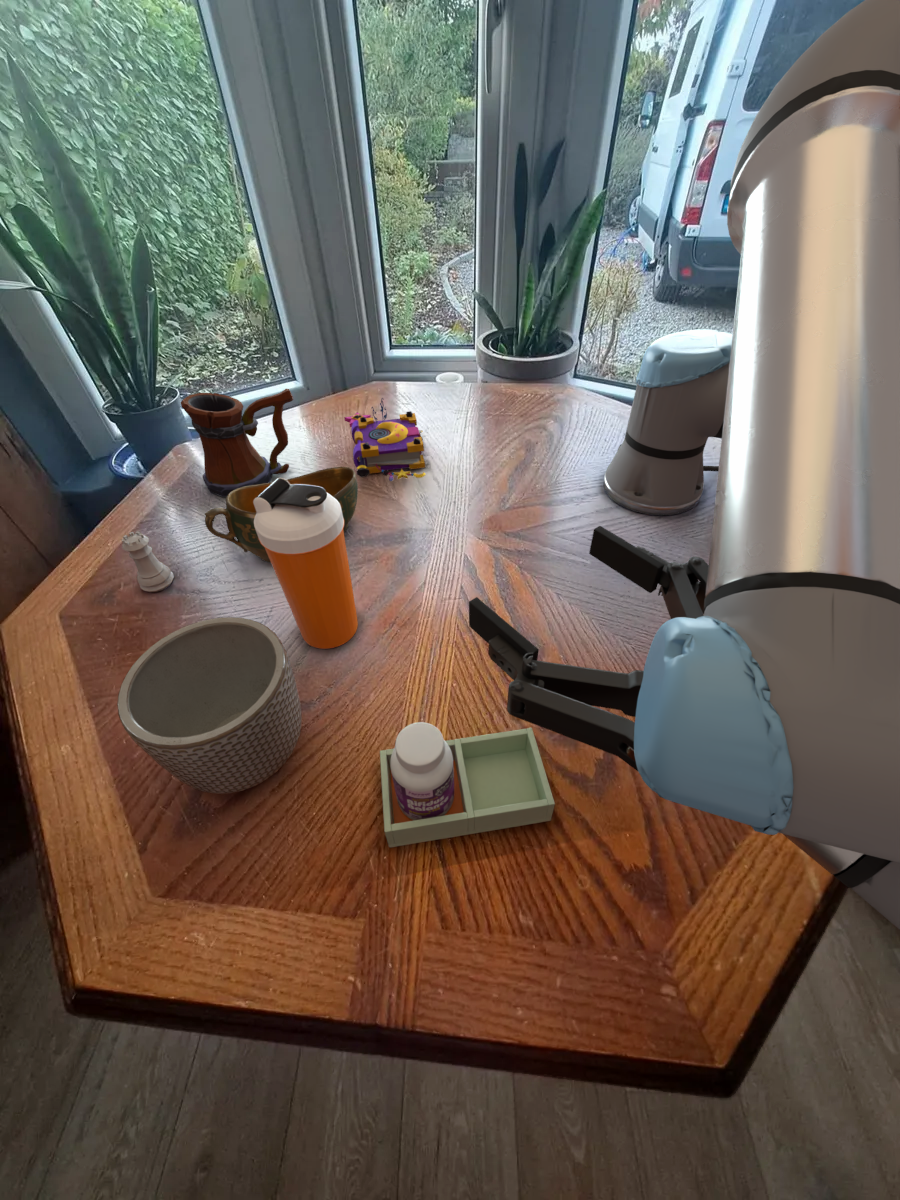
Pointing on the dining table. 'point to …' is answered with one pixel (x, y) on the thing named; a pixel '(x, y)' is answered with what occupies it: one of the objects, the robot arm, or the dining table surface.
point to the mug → (235, 439)
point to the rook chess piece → (147, 563)
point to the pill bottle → (422, 772)
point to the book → (386, 444)
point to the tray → (478, 790)
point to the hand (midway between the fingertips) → (537, 573)
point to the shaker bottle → (309, 559)
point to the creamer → (241, 499)
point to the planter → (214, 704)
